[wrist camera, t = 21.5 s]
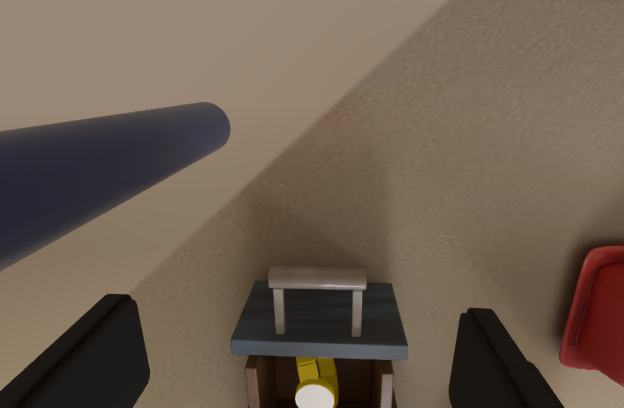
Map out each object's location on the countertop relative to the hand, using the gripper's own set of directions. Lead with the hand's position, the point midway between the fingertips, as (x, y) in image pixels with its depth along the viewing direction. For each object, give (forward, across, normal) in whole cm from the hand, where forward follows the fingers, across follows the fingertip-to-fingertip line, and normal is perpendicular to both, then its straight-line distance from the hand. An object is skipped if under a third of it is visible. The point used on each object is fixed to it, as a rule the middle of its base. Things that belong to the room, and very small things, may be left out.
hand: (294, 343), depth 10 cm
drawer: (+17, 0, +12) cm, 21 cm away
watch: (+16, 0, +14) cm, 22 cm away
